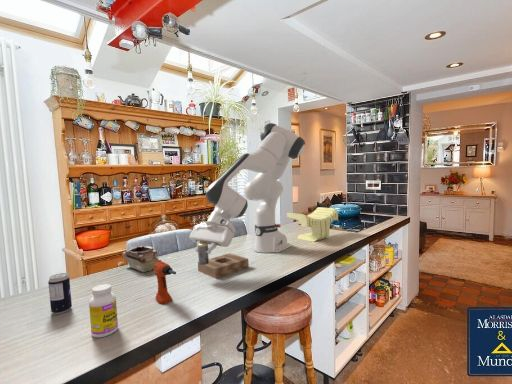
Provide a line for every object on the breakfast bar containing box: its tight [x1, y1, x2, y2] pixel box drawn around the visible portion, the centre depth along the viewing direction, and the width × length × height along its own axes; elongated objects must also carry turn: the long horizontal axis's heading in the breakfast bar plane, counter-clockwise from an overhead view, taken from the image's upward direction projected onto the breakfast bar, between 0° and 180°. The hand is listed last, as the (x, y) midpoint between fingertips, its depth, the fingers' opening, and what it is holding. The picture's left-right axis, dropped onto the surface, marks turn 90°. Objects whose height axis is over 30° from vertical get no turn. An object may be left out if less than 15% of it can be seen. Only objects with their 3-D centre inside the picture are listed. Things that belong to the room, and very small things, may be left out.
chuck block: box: [197, 252, 250, 279], centre depth 127 cm, size 18×14×4 cm
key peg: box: [197, 243, 210, 265], centre depth 113 cm, size 4×4×8 cm
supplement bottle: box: [88, 283, 119, 338], centre depth 78 cm, size 7×7×13 cm
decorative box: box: [122, 245, 160, 273], centre depth 133 cm, size 13×20×10 cm, turn 45°
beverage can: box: [47, 272, 73, 315], centre depth 92 cm, size 6×6×12 cm
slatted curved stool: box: [286, 206, 339, 242], centre depth 176 cm, size 30×16×18 cm, turn 129°
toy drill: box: [153, 259, 177, 305], centre depth 94 cm, size 5×18×14 cm, turn 38°
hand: (202, 252), depth 113 cm, fingers closed on key peg, 4 cm apart
